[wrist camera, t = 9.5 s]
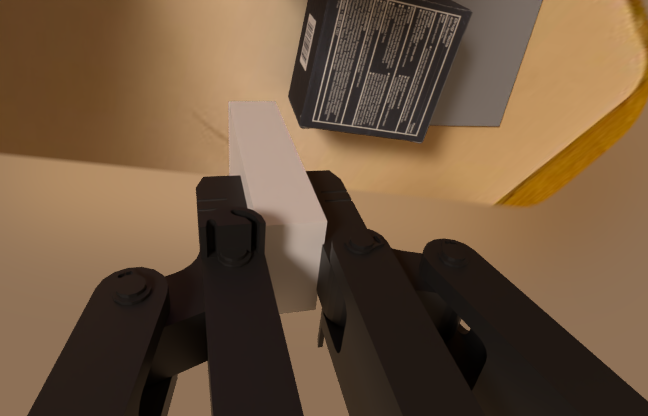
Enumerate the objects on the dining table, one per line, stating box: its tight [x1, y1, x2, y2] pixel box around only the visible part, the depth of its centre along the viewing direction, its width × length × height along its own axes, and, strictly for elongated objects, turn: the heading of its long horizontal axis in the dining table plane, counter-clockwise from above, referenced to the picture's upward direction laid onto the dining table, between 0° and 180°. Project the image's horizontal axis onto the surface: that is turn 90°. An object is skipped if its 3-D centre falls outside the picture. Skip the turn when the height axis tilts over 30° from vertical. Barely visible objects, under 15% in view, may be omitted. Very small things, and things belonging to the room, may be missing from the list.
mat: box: [430, 0, 542, 126], centre depth 40 cm, size 19×16×1 cm
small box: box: [288, 0, 473, 143], centre depth 36 cm, size 11×6×10 cm
